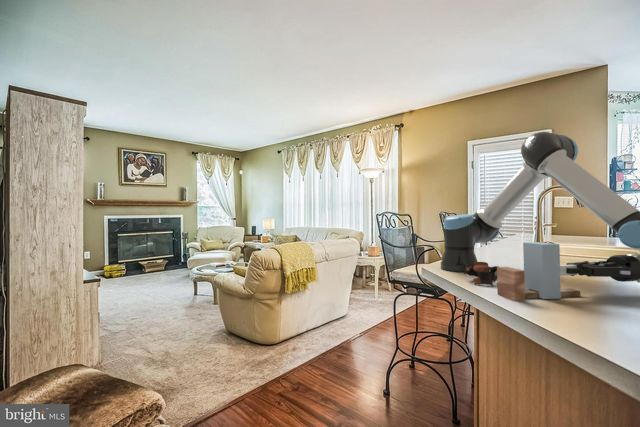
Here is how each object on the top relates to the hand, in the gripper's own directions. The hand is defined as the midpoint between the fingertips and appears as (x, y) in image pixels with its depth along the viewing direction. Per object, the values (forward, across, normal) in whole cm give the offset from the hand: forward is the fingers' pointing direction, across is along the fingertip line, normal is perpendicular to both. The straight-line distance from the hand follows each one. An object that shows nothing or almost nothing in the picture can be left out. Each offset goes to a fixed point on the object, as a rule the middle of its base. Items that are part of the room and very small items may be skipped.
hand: (552, 270), depth 86 cm
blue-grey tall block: (+3, +1, -7) cm, 8 cm away
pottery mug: (+8, +19, -8) cm, 22 cm away
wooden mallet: (+3, +1, -7) cm, 8 cm away
